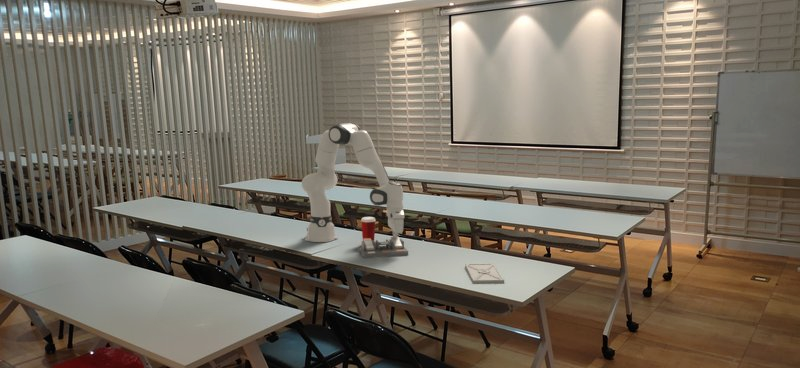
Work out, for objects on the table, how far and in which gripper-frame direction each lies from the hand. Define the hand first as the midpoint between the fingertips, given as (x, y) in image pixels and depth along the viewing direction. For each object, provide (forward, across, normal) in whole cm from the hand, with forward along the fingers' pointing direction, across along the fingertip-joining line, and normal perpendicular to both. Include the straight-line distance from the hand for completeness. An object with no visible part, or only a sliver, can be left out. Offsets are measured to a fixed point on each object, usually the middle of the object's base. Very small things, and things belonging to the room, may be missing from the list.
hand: (395, 237), depth 312 cm
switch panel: (+6, +6, -8) cm, 12 cm away
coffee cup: (+6, -13, -12) cm, 19 cm away
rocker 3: (+2, +4, 0) cm, 4 cm away
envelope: (+7, +54, +29) cm, 62 cm away
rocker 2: (+2, +4, -8) cm, 9 cm away
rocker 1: (+2, +4, -15) cm, 16 cm away
